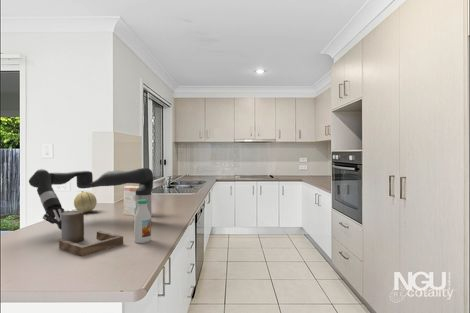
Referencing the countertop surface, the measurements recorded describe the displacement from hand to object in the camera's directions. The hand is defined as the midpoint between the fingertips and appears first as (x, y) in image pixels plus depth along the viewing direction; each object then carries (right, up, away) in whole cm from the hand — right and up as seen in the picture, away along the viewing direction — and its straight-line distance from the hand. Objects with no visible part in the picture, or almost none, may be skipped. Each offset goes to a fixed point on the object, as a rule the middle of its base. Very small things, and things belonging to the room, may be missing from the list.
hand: (62, 228), depth 149 cm
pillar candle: (+7, -5, -4) cm, 10 cm away
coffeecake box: (+17, -4, +56) cm, 58 cm away
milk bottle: (+42, -5, -5) cm, 42 cm away
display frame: (+20, -5, -13) cm, 24 cm away
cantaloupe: (-20, -4, +63) cm, 66 cm away
